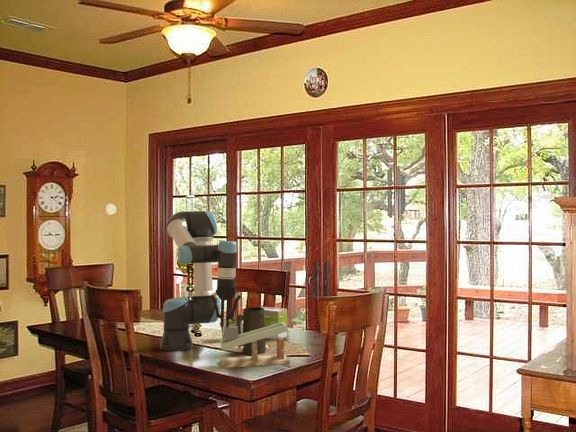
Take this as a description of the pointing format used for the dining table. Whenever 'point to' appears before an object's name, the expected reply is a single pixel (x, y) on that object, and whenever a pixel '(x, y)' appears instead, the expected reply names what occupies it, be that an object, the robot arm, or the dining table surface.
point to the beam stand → (258, 357)
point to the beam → (255, 335)
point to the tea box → (275, 319)
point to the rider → (231, 333)
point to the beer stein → (252, 326)
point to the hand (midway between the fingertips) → (224, 334)
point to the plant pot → (232, 323)
